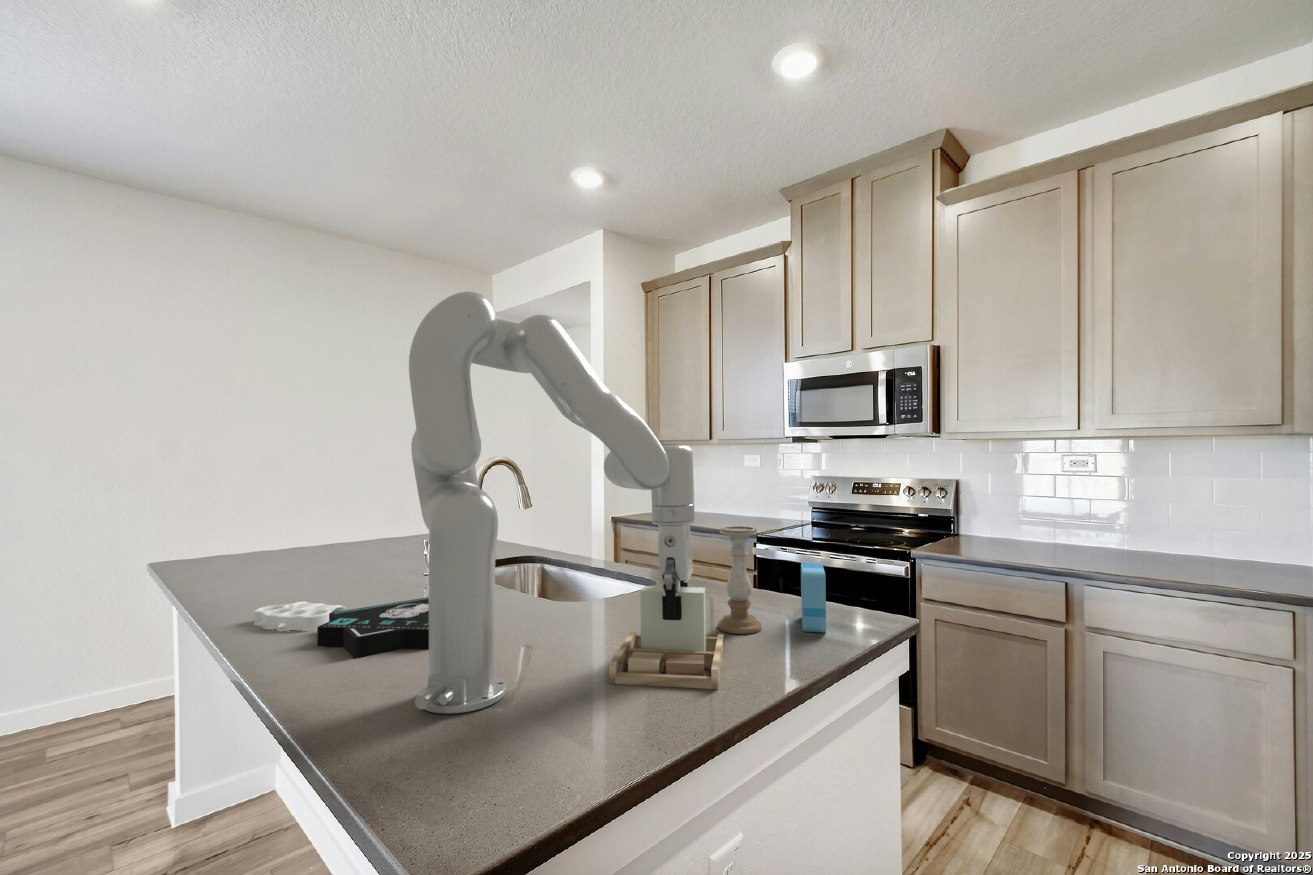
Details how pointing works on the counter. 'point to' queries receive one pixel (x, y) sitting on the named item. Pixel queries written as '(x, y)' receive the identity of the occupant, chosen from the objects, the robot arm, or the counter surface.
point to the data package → (813, 597)
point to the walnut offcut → (685, 665)
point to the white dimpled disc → (295, 616)
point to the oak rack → (633, 644)
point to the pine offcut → (645, 663)
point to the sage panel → (673, 621)
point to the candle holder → (739, 584)
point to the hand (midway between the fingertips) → (675, 611)
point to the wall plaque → (378, 628)
